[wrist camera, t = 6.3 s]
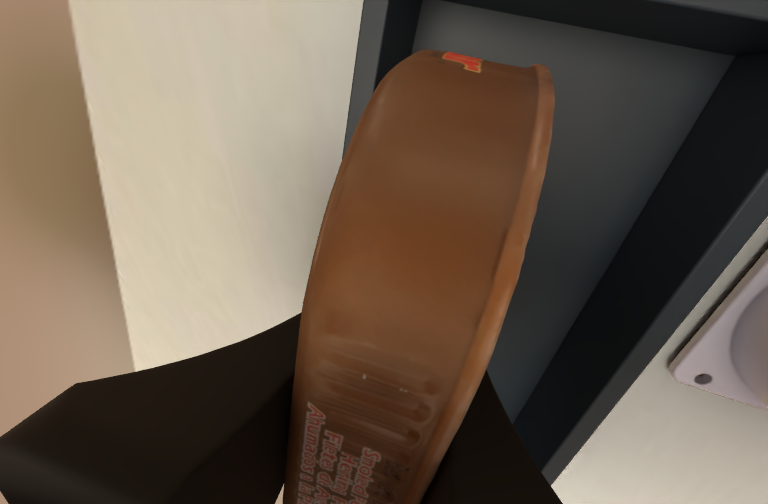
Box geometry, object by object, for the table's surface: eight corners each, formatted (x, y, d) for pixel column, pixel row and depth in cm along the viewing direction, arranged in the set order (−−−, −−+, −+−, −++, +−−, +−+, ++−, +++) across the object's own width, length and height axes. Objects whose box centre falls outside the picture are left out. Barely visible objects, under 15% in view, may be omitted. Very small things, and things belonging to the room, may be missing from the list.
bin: (762, 37, 9) (942, 3, 5) (504, 450, 18) (509, 538, 14) (411, -27, 10) (374, -86, 7) (335, 386, 19) (301, 452, 16)
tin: (402, 407, 17) (367, 663, 9) (342, 390, 17) (261, 628, 10) (518, 74, 10) (746, 54, 2) (413, 50, 10) (309, -41, 2)
